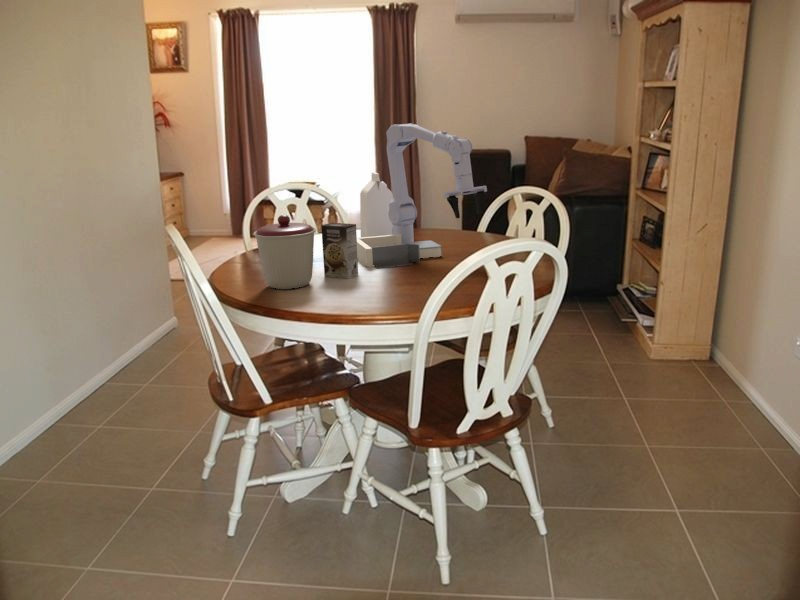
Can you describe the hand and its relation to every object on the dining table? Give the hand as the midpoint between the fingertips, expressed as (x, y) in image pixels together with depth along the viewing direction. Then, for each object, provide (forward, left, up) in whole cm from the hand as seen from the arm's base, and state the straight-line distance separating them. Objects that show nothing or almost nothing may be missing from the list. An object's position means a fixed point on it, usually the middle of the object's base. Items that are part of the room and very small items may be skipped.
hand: (468, 216), depth 238 cm
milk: (-44, -21, -14) cm, 50 cm away
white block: (-10, -13, -14) cm, 21 cm away
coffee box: (+9, -46, -14) cm, 49 cm away
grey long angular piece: (+2, -26, -14) cm, 29 cm away
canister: (+15, -63, -14) cm, 66 cm away
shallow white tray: (-10, -28, -14) cm, 33 cm away
